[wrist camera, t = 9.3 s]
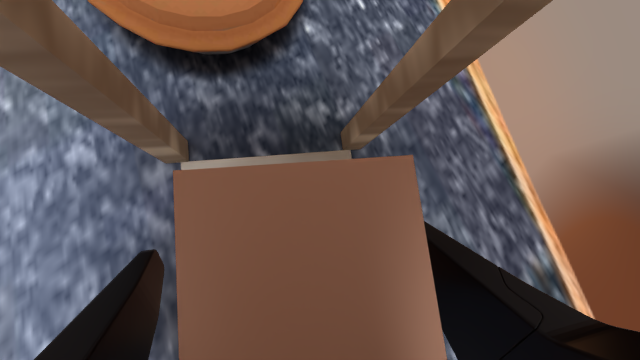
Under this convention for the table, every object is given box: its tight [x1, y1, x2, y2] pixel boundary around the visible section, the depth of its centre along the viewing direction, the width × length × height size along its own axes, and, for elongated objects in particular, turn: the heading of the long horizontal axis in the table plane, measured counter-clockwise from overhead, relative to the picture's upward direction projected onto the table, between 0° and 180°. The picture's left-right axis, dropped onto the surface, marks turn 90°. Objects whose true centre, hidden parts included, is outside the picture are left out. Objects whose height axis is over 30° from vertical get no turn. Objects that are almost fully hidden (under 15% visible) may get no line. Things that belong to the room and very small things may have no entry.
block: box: [173, 155, 447, 360], centre depth 11 cm, size 5×5×13 cm
